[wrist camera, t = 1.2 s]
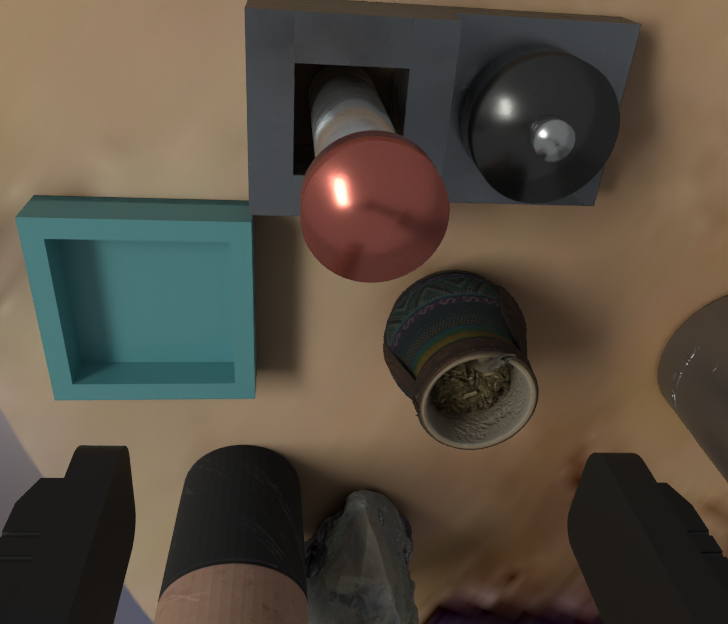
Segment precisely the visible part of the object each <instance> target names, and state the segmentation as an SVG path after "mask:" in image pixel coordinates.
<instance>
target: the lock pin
mask: <svg viewBox="0 0 728 624" xmlns="http://www.w3.org/2000/svg"><path fill="white" fill-rule="evenodd" d="M309 106H310V115H311V124H312V133H313V142H314V151H315V159H314V160H313V162H312V163H311V164H310V166H309V168H308V170H307V172H306V174H305V176H304V179H303V182H302V186H301V191H300V214H301V227H302V232H303V235H304V238H305V241H306V243H307V245H308V247H309V249H310V251H311V252H312V253H313V255H314V256H315V257H316V259H317V260H318V261H319V262H320V263H321V264H322V265H324V266H325V267H326V268H327V269H329V270H330V271H332V272H333V273H335V274H337V275H339V276H341V277H344V278H347V279H350V280H354V281H359V282H370V283H371V282H383V281H389V280H393V279H396V278H399V277H402V276H404V275H406V274H408V273H410V272H412V271H414V270H415V269H417V268H418V267H419V266H421V265H422V264H423V263H424V262H426V261H427V260H428V259H429V258H430V257H431V255H432V254H433V253H434V252H435V251H436V249H437V248H438V246H439V245H440V243H441V241H442V239H443V237H444V235H445V232H446V229H447V225H448V221H449V211H450V209H449V198H448V194H447V190H446V187H445V185H444V182H443V181H442V179H441V177H440V175H439V173H438V171H437V170H436V168H435V166H434V164H433V162H432V161H431V159H430V158H429V157H428V155H427V154H426V153H425V152H424V151H423V150H422V149H421V148H420V147H419V146H418V145H417V144H415V143H414V142H413V141H411V140H409V139H407V138H405V137H403V136H401V135H398V134H396V131H395V129H394V127H393V125H392V123H391V121H390V119H389V116H388V114H387V112H386V110H385V108H384V106H383V104H382V101H381V99H380V97H379V95H378V93H377V91H376V89H375V86H374V84H373V82H372V80H371V79H370V77H369V76H368V75H367V73H366V72H365V71H363V70H362V69H361V68H359V67H357V66H346V65H330V66H328V67H326V68H324V69H323V70H322V71H320V72H319V73H318V74H317V76H316V77H315V78H314V80H313V82H312V84H311V87H310V90H309Z"/></svg>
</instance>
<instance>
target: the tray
mask: <svg viewBox="0 0 728 624" xmlns="http://www.w3.org/2000/svg"><path fill="white" fill-rule="evenodd" d="M15 218H16V223H17V228H18V232H19V237H20V241H21V246H22V251H23V255H24V260H25V264H26V269H27V274H28V278H29V283H30V288H31V292H32V297H33V301H34V306H35V311H36V315H37V320H38V324H39V329H40V334H41V338H42V343H43V348H44V352H45V357H46V361H47V366H48V371H49V375H50V380H51V384H52V389H53V394H54V398H55V400H151V399H255V392H256V376H257V349H256V296H255V243H254V215H249V201H235V200H196V199H157V198H118V197H79V196H39V195H34V196H33V197H32V198H31V199H30V200H29V202H28V203H27V204H26V205H25V206H24V207H23V209H22V210H21V211H20V212H19V213H18V215H17V216H16V217H15Z"/></svg>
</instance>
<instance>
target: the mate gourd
mask: <svg viewBox="0 0 728 624" xmlns="http://www.w3.org/2000/svg"><path fill="white" fill-rule="evenodd" d="M526 332H527V329H526V323H525V319H524V317H523V314H522V312H521V310H520V308H519V306H518V304H517V303H516V301H515V300H514V298H513V297H512V296H511V295H510V294H509V293H508V292H507V291H506V289H505V288H503V287H501V286H499V285H495V284H493V283H492V282H491V281H489V280H486V278H484V277H482V276H480V275H478V274H474V273H471V272H467V271H459V270H449V271H440V272H437V273H433V274H430V275H428V276H426V277H424V278H422V279H420V280H418V281H416V282H415V283H414V284H412V285H411V286H409V287H408V288H407V289H406V290H405V291H403V292H402V294H401V295H400V296H399V298H398V299H397V300H396V302H395V304H394V306H393V309H392V311H391V313H390V316H389V318H388V321H387V324H386V329H385V333H384V344H383V352H384V359H385V361H386V364H387V366H388V368H389V369H390V372H391V374H392V376H393V379H394V380H395V381H396V383H397V385H398V386H399V387H400V389H401V390H402V391H403V392H404V393H405V395H406V396H408V397H409V398H410V399H411V400H412V401H413V404H414V406H415V409H416V412H417V413H418V414H417V415H416V416H418V418H419V421H420V423H421V425H422V426H423V428H424V429H425V430H426V432H427V433H428V434H429V435H430V436H431V437H433V438H434V439H435V440H437V441H438V442H440V443H442V444H444V445H447V446H450V447H453V448H457V449H464V450H466V449H467V450H476V449H483V448H488V447H491V446H494V445H497V444H499V443H502V442H504V441H506V440H508V439H509V438H511V437H512V436H514V435H515V434H516V433H518V432H519V431H520V430H521V429H522V428H523V427H524V426H525V425H526V423H527V422H528V421H529V419H530V418H531V416H532V415H533V413H534V411H535V408H536V405H537V401H538V384H537V380H536V377H535V375H534V373H533V371H532V368H531V366H530V363H529V361H528V359H527V339H526Z"/></svg>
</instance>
